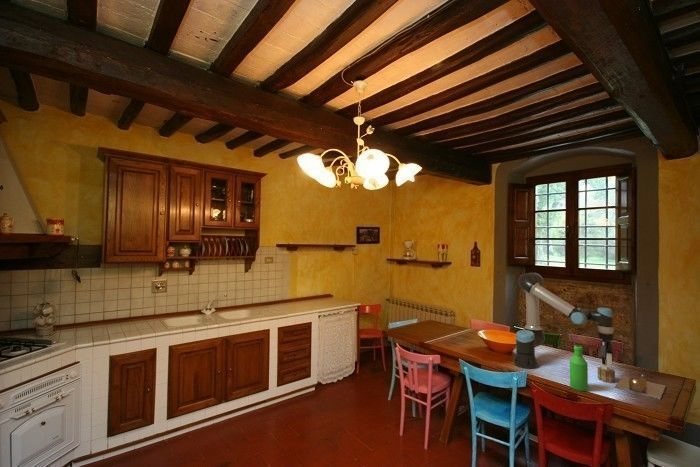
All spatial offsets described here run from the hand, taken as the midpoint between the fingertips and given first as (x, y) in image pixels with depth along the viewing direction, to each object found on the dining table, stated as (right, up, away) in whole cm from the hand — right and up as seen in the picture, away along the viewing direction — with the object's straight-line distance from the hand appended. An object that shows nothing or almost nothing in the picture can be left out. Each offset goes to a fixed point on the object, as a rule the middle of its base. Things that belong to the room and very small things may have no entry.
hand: (606, 366), depth 209 cm
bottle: (-26, -9, -12) cm, 30 cm away
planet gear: (0, -9, 0) cm, 9 cm away
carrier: (+12, -9, -10) cm, 18 cm away
